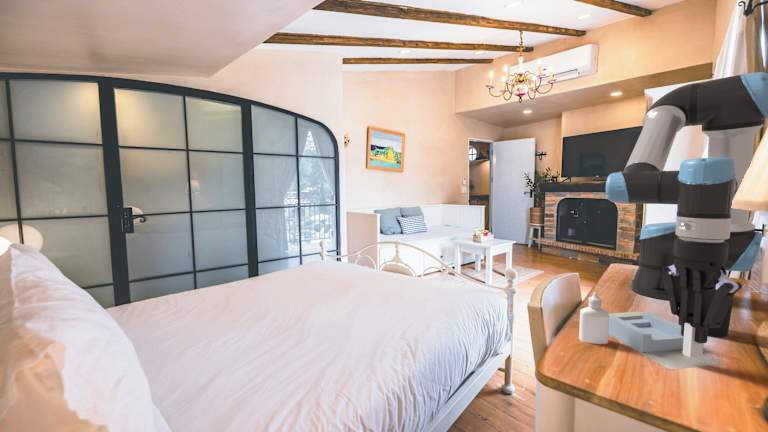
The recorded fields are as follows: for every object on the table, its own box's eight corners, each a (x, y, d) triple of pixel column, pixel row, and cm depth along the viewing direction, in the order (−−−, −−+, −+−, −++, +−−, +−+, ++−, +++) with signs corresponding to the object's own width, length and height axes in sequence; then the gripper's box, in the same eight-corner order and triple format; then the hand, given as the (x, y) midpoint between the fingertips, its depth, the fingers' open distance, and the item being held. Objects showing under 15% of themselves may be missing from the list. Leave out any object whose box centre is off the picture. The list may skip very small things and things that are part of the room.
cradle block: (649, 328, 81) (650, 312, 81) (691, 348, 71) (692, 330, 71) (605, 331, 80) (606, 315, 79) (642, 352, 70) (643, 334, 70)
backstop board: (638, 324, 85) (638, 311, 85) (727, 366, 65) (728, 350, 65) (592, 328, 83) (592, 314, 83) (669, 372, 64) (670, 355, 63)
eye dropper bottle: (606, 350, 72) (608, 298, 71) (577, 342, 76) (579, 292, 75) (609, 343, 76) (611, 292, 74) (581, 336, 79) (583, 287, 78)
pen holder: (741, 338, 77) (744, 297, 76) (708, 342, 75) (711, 300, 74) (696, 322, 86) (699, 284, 85) (666, 325, 84) (668, 287, 83)
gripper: (652, 234, 69) (645, 341, 71) (722, 246, 56) (711, 375, 59) (683, 233, 70) (676, 338, 72) (759, 244, 57) (748, 372, 59)
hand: (692, 355), depth 65 cm, fingers closed
